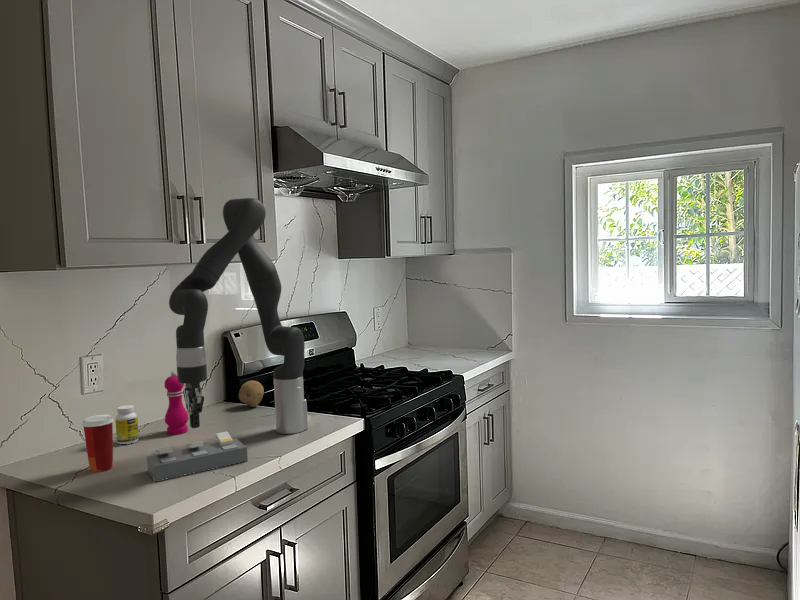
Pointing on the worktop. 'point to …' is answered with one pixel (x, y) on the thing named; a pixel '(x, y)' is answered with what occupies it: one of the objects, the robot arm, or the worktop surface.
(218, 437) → the rocker
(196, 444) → the rocker middle
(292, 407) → the robot arm
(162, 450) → the rocker
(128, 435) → the pill bottle
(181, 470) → the rocker switch box
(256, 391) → the brown potato
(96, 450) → the paper cup
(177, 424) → the pepper mill
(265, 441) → the worktop surface
